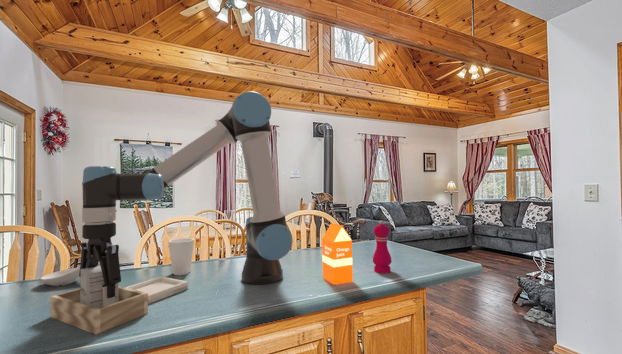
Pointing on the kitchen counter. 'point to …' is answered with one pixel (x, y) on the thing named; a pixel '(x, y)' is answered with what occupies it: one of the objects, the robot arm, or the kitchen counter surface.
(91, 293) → the supplement box
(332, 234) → the orange juice
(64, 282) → the spoon rest
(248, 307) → the kitchen counter surface
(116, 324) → the crate
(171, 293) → the tray
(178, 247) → the foam cup
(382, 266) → the pepper mill
